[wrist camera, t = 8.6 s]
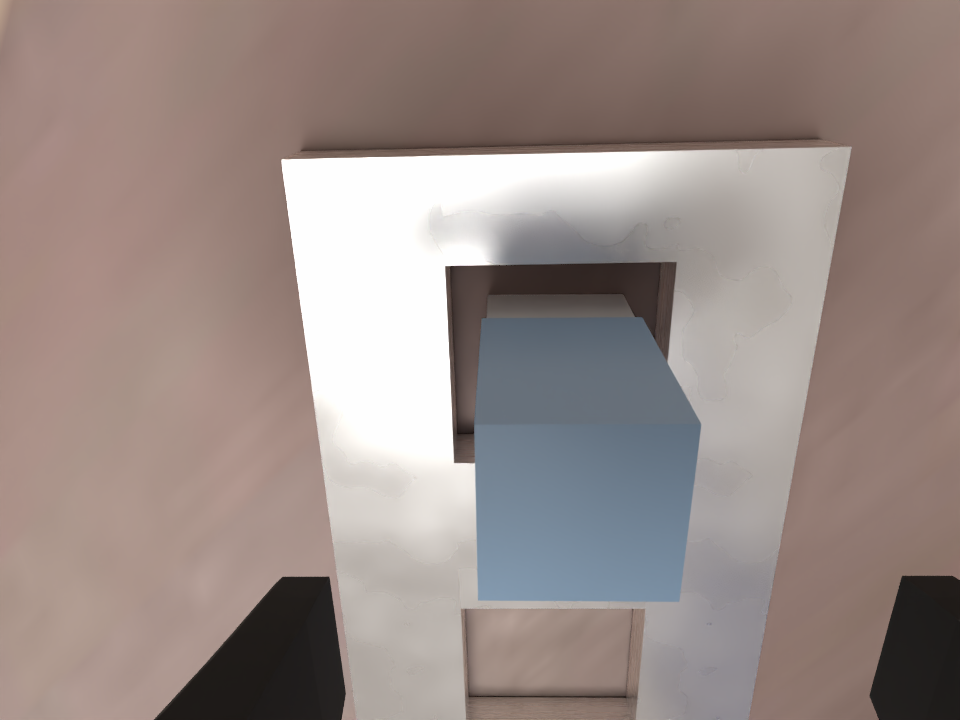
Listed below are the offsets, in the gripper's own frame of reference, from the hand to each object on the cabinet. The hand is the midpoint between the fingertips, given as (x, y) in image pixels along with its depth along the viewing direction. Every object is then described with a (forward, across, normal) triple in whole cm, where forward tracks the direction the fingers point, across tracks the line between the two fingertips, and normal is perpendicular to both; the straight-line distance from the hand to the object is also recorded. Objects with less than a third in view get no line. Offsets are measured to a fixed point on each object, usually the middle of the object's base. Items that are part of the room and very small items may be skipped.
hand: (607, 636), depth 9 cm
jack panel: (+10, 0, +5) cm, 11 cm away
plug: (+10, 0, 0) cm, 10 cm away
